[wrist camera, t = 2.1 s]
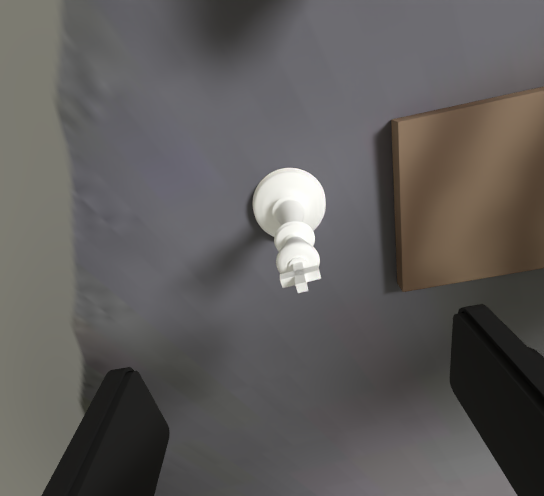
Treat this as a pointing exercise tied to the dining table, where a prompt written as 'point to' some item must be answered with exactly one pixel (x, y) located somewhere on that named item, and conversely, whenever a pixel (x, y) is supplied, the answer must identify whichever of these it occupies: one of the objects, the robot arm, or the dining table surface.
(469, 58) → the dining table surface
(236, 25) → the dining table surface
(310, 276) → the chess piece
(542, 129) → the walnut board
